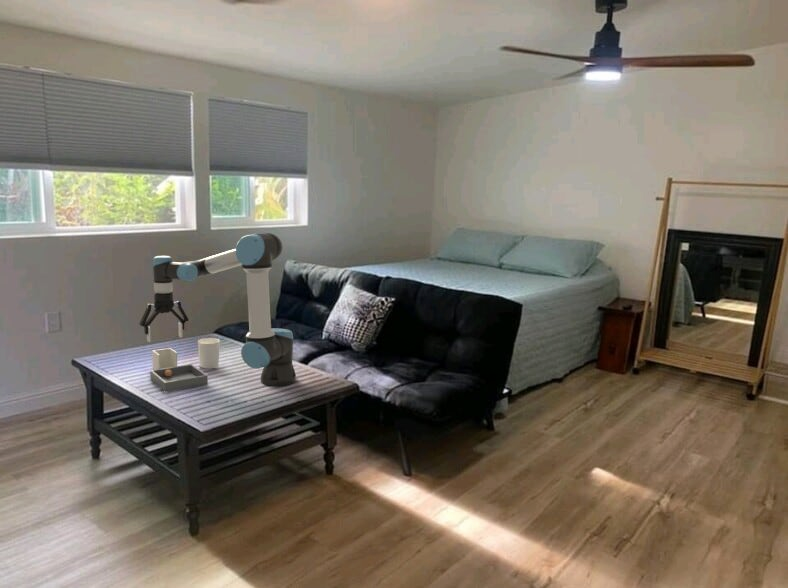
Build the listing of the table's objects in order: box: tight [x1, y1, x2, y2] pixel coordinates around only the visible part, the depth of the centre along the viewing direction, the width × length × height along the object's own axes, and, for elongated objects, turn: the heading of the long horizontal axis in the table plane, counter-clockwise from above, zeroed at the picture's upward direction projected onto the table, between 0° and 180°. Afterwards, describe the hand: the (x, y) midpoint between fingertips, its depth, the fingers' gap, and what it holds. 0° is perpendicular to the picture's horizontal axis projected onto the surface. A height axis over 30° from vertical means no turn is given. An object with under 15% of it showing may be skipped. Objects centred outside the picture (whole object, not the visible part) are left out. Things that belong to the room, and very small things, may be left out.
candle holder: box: [197, 337, 221, 369], centre depth 258 cm, size 10×10×12 cm
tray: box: [149, 363, 209, 393], centre depth 236 cm, size 18×18×4 cm
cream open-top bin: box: [151, 347, 178, 370], centre depth 248 cm, size 8×8×9 cm
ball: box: [164, 370, 172, 377], centre depth 239 cm, size 3×3×3 cm
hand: (165, 339), depth 246 cm, fingers open, 13 cm apart
